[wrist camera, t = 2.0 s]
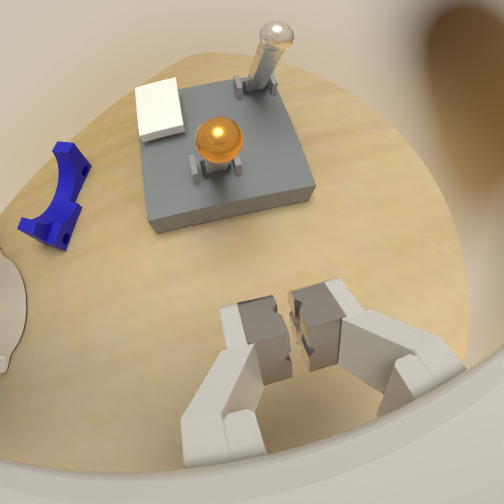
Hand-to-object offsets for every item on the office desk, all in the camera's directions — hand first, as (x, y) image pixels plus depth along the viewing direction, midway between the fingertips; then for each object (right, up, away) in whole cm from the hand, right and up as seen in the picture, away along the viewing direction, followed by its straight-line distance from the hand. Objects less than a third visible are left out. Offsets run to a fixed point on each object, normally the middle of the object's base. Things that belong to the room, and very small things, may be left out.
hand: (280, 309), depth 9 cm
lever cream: (0, +22, +25) cm, 34 cm away
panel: (-5, +14, +28) cm, 32 cm away
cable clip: (-25, +8, +26) cm, 37 cm away
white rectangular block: (-12, +18, +22) cm, 31 cm away
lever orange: (-5, +11, +22) cm, 25 cm away
